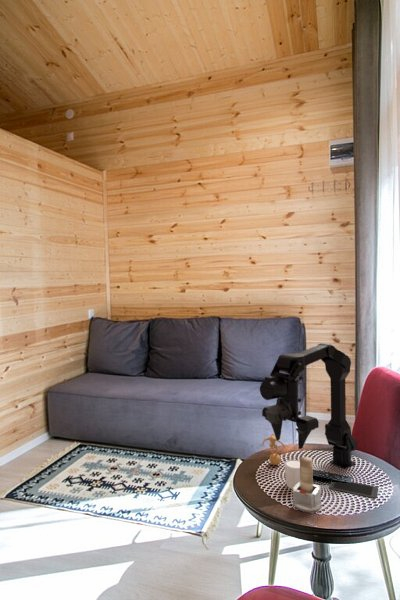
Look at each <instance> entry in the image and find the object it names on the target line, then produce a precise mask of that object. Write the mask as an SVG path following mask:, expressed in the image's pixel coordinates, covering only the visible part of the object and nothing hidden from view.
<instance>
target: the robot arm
mask: <svg viewBox="0 0 400 600" xmlns="http://www.w3.org/2000/svg"><path fill="white" fill-rule="evenodd" d="M320 360H321V361H322V363H324V366H325V371H326V374H327V375H328V377H329V379H330V420H329V421H328V423H325V424H324V429H325V432H324V436H325V438H326V441H327V444H328V445H329V446H333V447H332V460H330V461H329V463H330V464H332V465H335V466H337V467H339V468H342V469H345V470H346V469H348V468H350V467H352V466H354V465H356V461H353V460H352V459H353V458H352V452H354V451H356V449H357V446H358V442H357V440H356V439H355V437H353V435H352V429H351V426H350V425H349V423H348V420H347V417H346V416H347V415H346V414H347V411H346V410H347V409H346V408H347V407H346V405H347V403H346V402H347V401H346V379H347V377H348V376H349V374H350V372H351V366H352V361H351V358H350V357H349V355H347V354H345V353H344V352H343V351H341V350H339V349H337V348H336V347H335V346H334V345H332V344H330V343H318V344H317V345H315V346H312V347H310V348H308V349H305V350H303V351H299V352H297V353H296V352H295V353H283V354H281V355H280V354H279V356H278V359H277V360H276V362H275V364H274V366H273V369H272V370H271V372H270V374H269V376H265V377H264V381H262V382H261V383H260V386H259V394H260V395H261V397H262V398H263V399H264V400H266V401H270V400H275V399H276V404H272V405H269V406H264V407H263V408H262V409H261V416H262V417H264V419H265V420H266V421H268V422H269V423H270V426H271V428H272V431H273V434H274V436H275V438H276V440H279V441H281V439H280V438H281V434H282V429H283V421H284V422H286V421H290V422H293V423H295V426H296V428H295V431H296V432H297V434H298V435H297V439H298V440H297V442H298V443H297V444H298V449H299V450H302V449H303V447H304V445H305V444H306V440H307V439H308V437H309V435H310V434H311V432H312V431H314V430H316V429H318V428H319V423H320V422H319V420H318V418H316V417H314V416H311V415H305V416H301V415H302V411H301V410H299V403H300V402H302V398H300V397H299V383H300V382H299V381H303V379H304V377H303V376H302V375H301V373H302V372H303V371H305V369H306V367H307V366H309V365H310V364H313V363H315V362H318V361H320ZM300 416H301V417H300Z"/></svg>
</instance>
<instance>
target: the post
mask: <svg viewBox="0 0 400 600" xmlns="http://www.w3.org/2000/svg"><path fill="white" fill-rule="evenodd" d="M299 461H300V490H304V491H306V492H307V493H312V492H313V484H314V478H313V477H314V473H313V470H314V469H313V467H314V466H313V465H314V464H313V459H312V458H310V457H309V456H308V457H305V456H303V457H300V458H299Z"/></svg>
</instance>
